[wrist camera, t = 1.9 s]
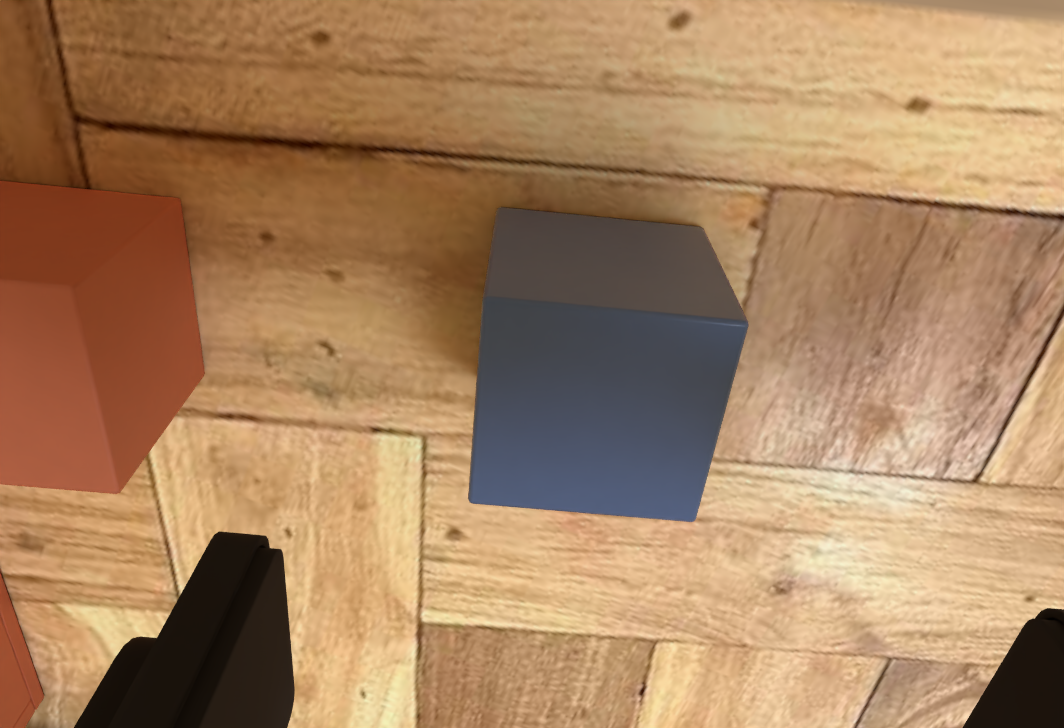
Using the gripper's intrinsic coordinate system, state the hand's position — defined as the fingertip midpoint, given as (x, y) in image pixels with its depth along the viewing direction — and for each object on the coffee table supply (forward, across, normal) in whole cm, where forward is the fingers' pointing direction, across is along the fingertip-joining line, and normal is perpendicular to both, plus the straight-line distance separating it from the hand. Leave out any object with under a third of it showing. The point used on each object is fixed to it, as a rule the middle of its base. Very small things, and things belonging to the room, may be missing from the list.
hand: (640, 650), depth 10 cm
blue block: (+9, 0, 0) cm, 9 cm away
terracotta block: (+9, +11, 0) cm, 14 cm away
